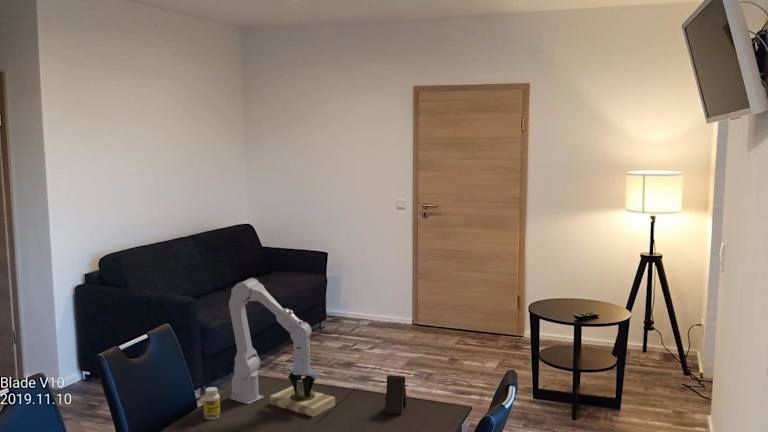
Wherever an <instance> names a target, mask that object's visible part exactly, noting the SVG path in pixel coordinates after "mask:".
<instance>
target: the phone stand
mask: <svg viewBox="0 0 768 432" xmlns="http://www.w3.org/2000/svg"><path fill="white" fill-rule="evenodd" d="M406 390H407V389H406V376H403V375H390V374H388V375H387V376H386V390H385V391H386V392H385V403H384V414H389V415H397V414H398V415H399V416H402V415H403V413H404V412H405V410H406V408H407V407H408V400H407V399H408V398H407V391H406ZM406 406H407V407H406ZM403 411H404V412H403Z"/></svg>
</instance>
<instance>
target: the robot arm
mask: <svg viewBox="0 0 768 432" xmlns="http://www.w3.org/2000/svg"><path fill="white" fill-rule="evenodd" d="M230 291H231V294H230V298H229V302H228V307H229V312H230V313H229V314H230V318H231V323H232V328H233V329H232V330H233V334H234V339H235V340H234V341H235V345H236V351H237V352H236V355H235V357H234V366H233V371H234V375H233V376H232V379H231V396H230V398H229V399H231V400H232V401H233V400H234V401H236V402H239V403H242V404H247V405H250V404H253V403H254V402H257V401H260V400H262V399H263V398H264V397H265V396H264V395H261V394H259V368H260V367H261V364H262V362H261V359H260V356H258V352H257V350H256V349H255V348H254V347H253V344H252V338H251V333H250V326H249V321H248V316H247V310H246V305H247V303H248V302H260V304H262V305H263V306H264V307H266V309H268V310H269V311H270V312H271V313H272V314H274V315H275V318H276V322H277V323H278V324H280V326H282V328H284V330H286V331H287V332H288V333H289V335H290V336H289V337H290V339H291V340H292V342H293V346H292V347H293V365H289V364H288V365H286V366H284V371H285V373H290V374H288V375H287V376H288V379H289V381H290V382H291V384H292V385H291V386H293V388H294V391H295V394H297V381H298V380H302V382H303V386H304V395H305V397H308V396H310V393H311V391H312V387H313V385H314V383H315V381H316V380H319V379H320V375H321V373H320V372H318V371H316V370H315V369H312V368H311V351H310V349H311V348H310V346H311V345H310V341H311V340H310V337H311V335H312V332H313V329H312V327H311V325H310V324H309V323H308V322H306V321H304V320H302V319H300V318H299V317H297V316H296V315H295V314H294V311H293V310H292V309H289V308H283V307H282V306H281V305H280V303H278V301H276V299H275V298H274V297H273V296H272V295H271V294H270V293H269V292H268V291H267V289H266V288H265V286H264V285H263V284H262V283H260V282H259V280H258V279H257V278H255V277H249V278H247V279H246V280H244V281H241V282H238V283H236V284H235V285H234V286H233V288H231V290H230ZM302 377H303V378H302Z"/></svg>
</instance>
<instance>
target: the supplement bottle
mask: <svg viewBox="0 0 768 432" xmlns="http://www.w3.org/2000/svg"><path fill="white" fill-rule="evenodd" d="M204 390H205V395H204V396H203V417H204V418H205V419H207V420H215V419H218V418H219V417H221V399H220V398H221V397H220V396H221V395H220V394H218V392H219V391H218V388H217V387H216V386H209V387H206V388H205V389H204Z"/></svg>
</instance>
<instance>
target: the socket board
mask: <svg viewBox="0 0 768 432" xmlns="http://www.w3.org/2000/svg"><path fill="white" fill-rule="evenodd" d="M269 397H270V398H269V399H270V401H269V402H270V405H272V406H276V407H279V408H282V409H285V410H289V411H293V412H296V413H299V414H303V415H306V416H310V417H313V418H314V417H315V416H317V415H319V414H321V413H323V412H325V411H327V410H329V409H331V408H333V407H335V406H336V397H335V396H332V395H329V394H325V393H321V392H319V391H318V392H317V391H314V390H311V393H310V396H308V398H307V399H297V394H295V391H294V388H293V385H291V386H289V387H288V388H285V389H283V390H280V391H279V392H276V393H273V394H271V395H270V396H269Z"/></svg>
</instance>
